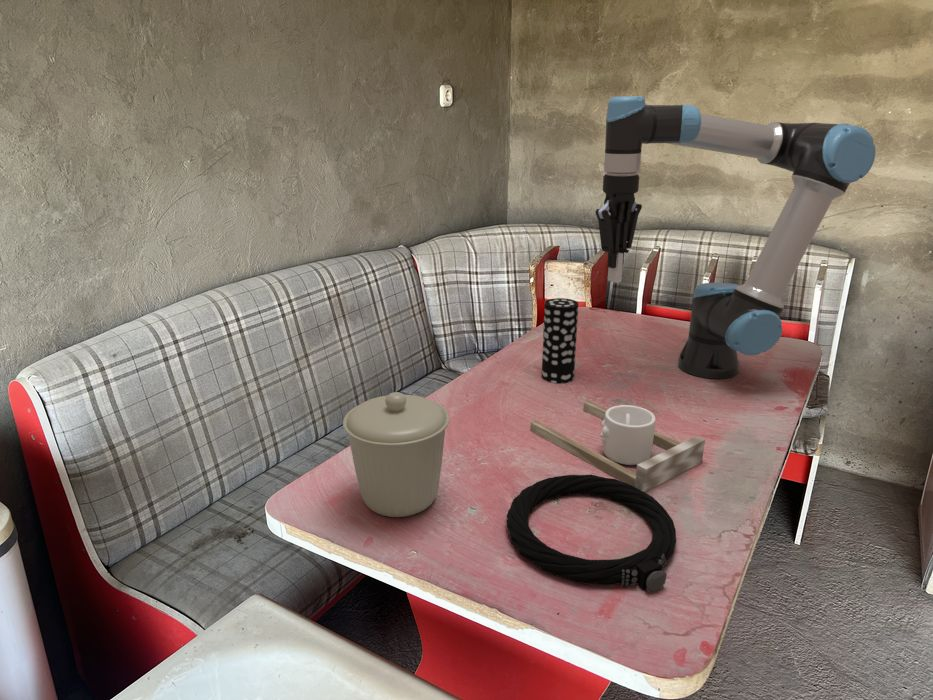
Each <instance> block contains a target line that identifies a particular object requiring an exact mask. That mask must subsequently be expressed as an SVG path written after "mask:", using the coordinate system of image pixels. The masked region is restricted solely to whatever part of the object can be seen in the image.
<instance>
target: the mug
mask: <svg viewBox="0 0 933 700" xmlns="http://www.w3.org/2000/svg"><path fill="white" fill-rule="evenodd" d="M600 425H601V428H602V429H601V432H600V433H599V434H600V437H601V441H602V452H603V454H604V455H605V457H606V458H607V459H609V460H611V461H613V462H615V463H617V464H619V465H624V466H625V465H627V466H637V465H638V464H640V463H642V462H644V461H646V460H648V459H650V458H652V453H653V445H654V444H653V438H654V431H656V430H655V428H656V416H655V414H654V413H653V412H652V411H650V410H648V409H646V408H644V407H640V406H638V405H632V404H630V405H629V404H621V405H619V404H618V405H615V406H612V407H609V408H608V410H607V411H606V413H605V419H604V420H603V419H602V422H601V423H600Z"/></svg>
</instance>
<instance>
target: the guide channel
mask: <svg viewBox="0 0 933 700" xmlns="http://www.w3.org/2000/svg"><path fill="white" fill-rule="evenodd" d="M582 409H583V411H584V412H586V413H589V414H590V415H592V416H594V417H597V418H599V419H601V420H602V421H603V420H604V419H605V413H606V411H607V410H608V409H609V408H608V409H607V408H605V407H603V406H601V405H599V404H596V403H595V402H592V401H590V400H586V401H584V402H583V408H582ZM530 432H532V433H534V434H536V435H538V436H539V437H541V438H543V439H545V440H547V441H549V442H551V444H554V445H556V446H557V447H559V448H561V449H562V450H565V451H566V452H568V453H570V454H572V455H574V456H576V457H578V458H579V459H581V460H583V461H584V462H586V463H588V464H590V465H591V466H594V467H596V468H597V469H599V470H601V471H603V472H604V473H606V474H608V475H610V476H612V477H613V478H614V479H616V480H619V481H621V482H624V483H627V484H629V485H632V486H634V487H636V488H637V489H639V490H641V491H643V492H645V493H647V492H648V491H651V490H652V489H654V488H656V487H658V486H659V485H661V484H663V483H666V482H667V481H669V480H672V479H673V478H675V477H677V476H679V475H681V474H682V473H684V472H687V471H688V470H690V469H692V468H694V467H696V466H698V465H700V464H701V463H703V457H704V451H705V445H706V439H704V438H702V437H701V436H698V435H696V436H694V437H691V438H689V439H687V440H685V441H683V442H679V441H677V440H675V439H673V438H671V437H669V436H667V435H665V434H662V433H660V432H658V431H656V430H654V438H653V445H656V446H658V447H660V448H662V449H664V450H665V451H662V452H660V453H659V454H655V455H654V456H651V457H650V458H649V459H648V460H646V461H644V462H642V463H640V464H637V465H636V472H634V471H632V470H630V469H628V468H626V467H625V466H623V465H622V464H620V463H617V462H614V461H612V460H610V459H609V458H608V457H607V456H604V455H602V454H601V453H598V452H596V451H595V450H592V449H590V448H588V447H587V446H585V445H583V444H582V443H579V442H577V441H575V440H574V439H572V438H570V437H567V436H566V435H564V434H563V433H561V432H558V431H556V430H555V429H552V428H551V427H550V426H547V425H545V424H544V423H542V422H540V421H537V420H533V421H530Z"/></svg>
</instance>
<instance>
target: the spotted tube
mask: <svg viewBox="0 0 933 700" xmlns="http://www.w3.org/2000/svg"><path fill="white" fill-rule="evenodd" d="M543 315H544V316H543V333H542V336H543V337H542V355H541V356H542V358H541V359H542V360H541V361H542V362H541V378H542V380H543V381H546V382H548V383H551V384H567V383H570V382H572V381H574V379H575V371H576V370H575V369H576V368H575V367H576V350H577V335H578V334H577V332H578V317H579V302H578V301H576V300H575V299H570V298H563V297H562V298H561V297H557V298H549V299H546V300H544V312H543Z"/></svg>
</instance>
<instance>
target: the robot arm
mask: <svg viewBox="0 0 933 700" xmlns="http://www.w3.org/2000/svg"><path fill="white" fill-rule="evenodd" d="M604 143H605V144H604V164H603V172H604V173H606V174H604V175H603V178H602V191H603V193H605V198H604V201H603V206H602V207H601V208H597V209H596V210H595V216H596V218H597V220H598V228H599V237H600V239H599V240H600V247H601V251H602V252H605V253H607V268H608V271H607V281H608V282H612V283H614V284H615V283H616V284H619V283H621V282H622V276H623V266H624V262H625V259H624V258H625V254H628V253H629V252H630V249H631V248H632V245H633V240H634V237H635V233H636V232H635V231H636V227H637V223H638V219H639V215H640V212H641V210H642V208H643V205H642V204H640V203H637V202H636V197H635V194H637V193H638V192H639V188H640V187H639V185H640V176H639V174H638V173H640V172H641V164H642V162H641V161H642V147H643V144H644V145H649V144H668V145H669V144H670V145H673V146H675V145H676V146H682V147H685V148H686V147H687V148H692V149H693V148H694V149H700V150H704V151H711V152H717V153H721V154H722V153H723V154H730V155H735V156H742V157H748V158H754V159H757V162H758V163H760V164H763V165H770V166H772V167H773V166H774V167H776V168H781V169H783V170H787V171H789V172H791V173H792V174H791V176H790V177H791V179H792V183H793V188H792V190H791V192H790V194H789V196H788V198H787V200H786V202H785V203H784V206H783V208H782V209H781V212H780V214H779V216H778V217H777V220H776V222H775V223H774V225H773V228H772V229H771V231H770V234H769V235H768V237H767V239H766V242H765V243H764V245H763V247H762V249H761V251H760V253H759V255H758V257H757V259H756V260H755V263H754V265H753V267H752V269H751V270H750V273H749V274H748V276H747V278H746V281H745V283H743V284H741V285H740V284H737V283H729V282H706V283H700V284H698V285H696V287H695V288H694V291H693V294H692V295H693V296H692V298H691V299H692V304H691V305H692V306H691V313H690V320H689V321H690V322H689V328H688V337H687V340H686V342H685V344H684V345H683V348H682V350H681V351H680V354H679V355H678V363H677V366H678V367H679V369H680V370H682V371H683V372H685V373H687V374H689V375H692V376H695V377H700V378H705V379H706V378H707V379H713V380H714V379H717V380H718V379H719V380H720V379H729V378H732V377H735V376H736V375H737V374H738V372H739V368H740V362H739V358H738V352H739V353H740V354H741V355H742V354H743V355H746V356H757V355H760V354H762V353H765V352H767V351H769V350H771V349H772V348H773V347H775V346H776V344H777V343H778V342H779V340H780V338H781V337H782V334H783V329H784V328H783V325H782V324H783V323H782V320H781V318H780V316H781V314H782V312H783V310H784V308H785V306H784V304H783V303H784V302H783V300H782V297H783V295H784V294H785V292H786V290H787V287H788V286H789V284H790V282H791V280H792V278H793V276H794V274H795V272H796V271H797V269H798V267H799V265H800V263H801V261H802V259H803V257H804V255H805V254H806V252H807V250H808V248H809V246H810V244H811V242H812V240H813V238H814V236H815V234H816V233H817V232H818V229H819V227H820V226H821V225H820V224H821V223H822V222H823V219H824V218H825V216H826V214H827V212H828V209H829V208H830V206H831V204H832V202H833V200H835V199H837V198H840V197H842V196H844V195H845V193H846V191H847V190H848V188H849V185H850V184H852V183H855V182H858V181H859V180H860V179H862V178H864V177H865V176H866V175H868V174H869V171H870V170H871V168H872V166H873V164H874V162H875V159H876V145H875V144H874V138H873V136H872V134H871V133H870V132H869V131H868V130H867V129H865V128H863V127H862V126H858V125H854V124H850V123H849V124H848V123H846V122H845V123H826V122H825V123H824V122H823V123H821V122H803V123H801V122H798V123H793V122H791V123H790V122H789V123H787V122H779V121H771V122H769V123H767V124H764V123H756V122H751V121H750V122H749V121H745V120H740V119H734V118H733V119H732V118H727V117H721V116H715V115H709V114H704V113H701V111H700V109H699V108H698V107H697V106H696V105H689V104H674V105H673V104H672V105H671V104H667V105H666V104H665V105H664V104H661V105H660V104H655V105H654V104H653V105H652V104H646V98H645V96H642V95H635V96H633V95H632V96H630V95H628V96H627V95H626V96H625V95H624V96H621V95H620V96H612V97H610V99H609V100H608V102H607V109H606V117H605V142H604Z"/></svg>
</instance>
